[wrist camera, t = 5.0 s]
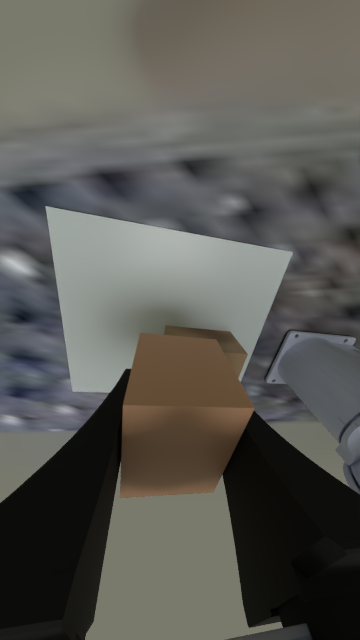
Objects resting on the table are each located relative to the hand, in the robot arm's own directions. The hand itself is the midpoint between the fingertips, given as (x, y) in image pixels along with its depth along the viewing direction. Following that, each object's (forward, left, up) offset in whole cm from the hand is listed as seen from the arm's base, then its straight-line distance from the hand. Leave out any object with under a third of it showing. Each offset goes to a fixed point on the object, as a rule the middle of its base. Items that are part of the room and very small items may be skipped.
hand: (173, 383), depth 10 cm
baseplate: (0, 0, -8) cm, 8 cm away
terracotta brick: (0, 0, -1) cm, 1 cm away
